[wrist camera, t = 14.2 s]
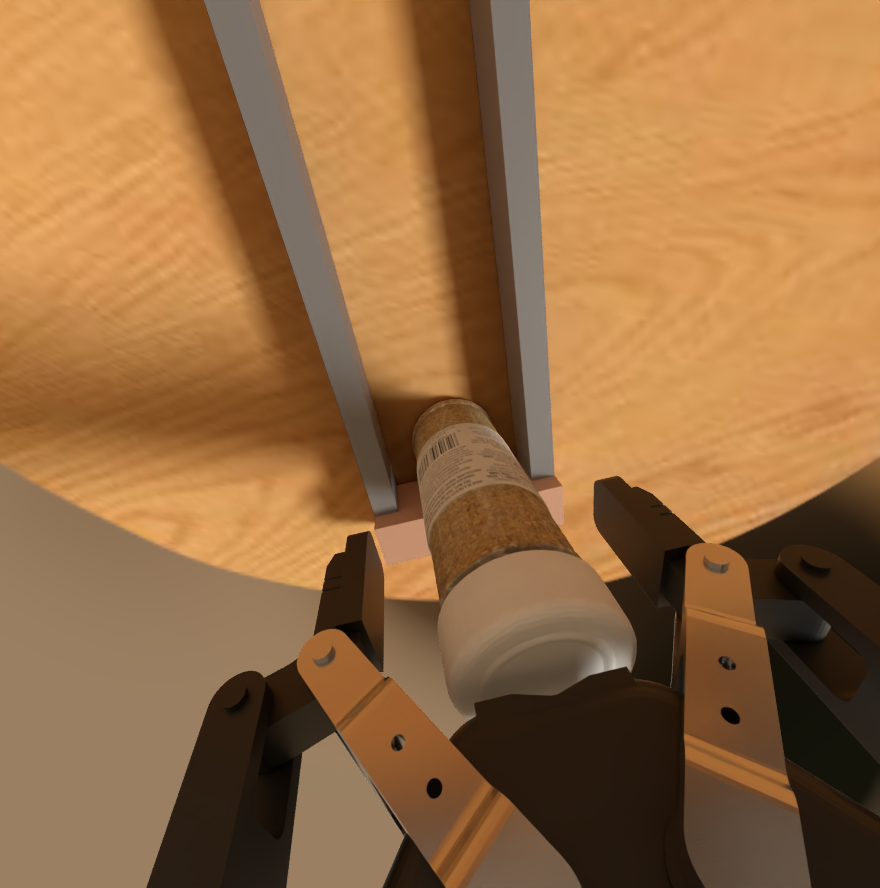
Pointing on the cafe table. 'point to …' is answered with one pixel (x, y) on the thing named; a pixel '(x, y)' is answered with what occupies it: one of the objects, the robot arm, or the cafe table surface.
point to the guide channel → (293, 201)
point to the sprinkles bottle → (506, 570)
